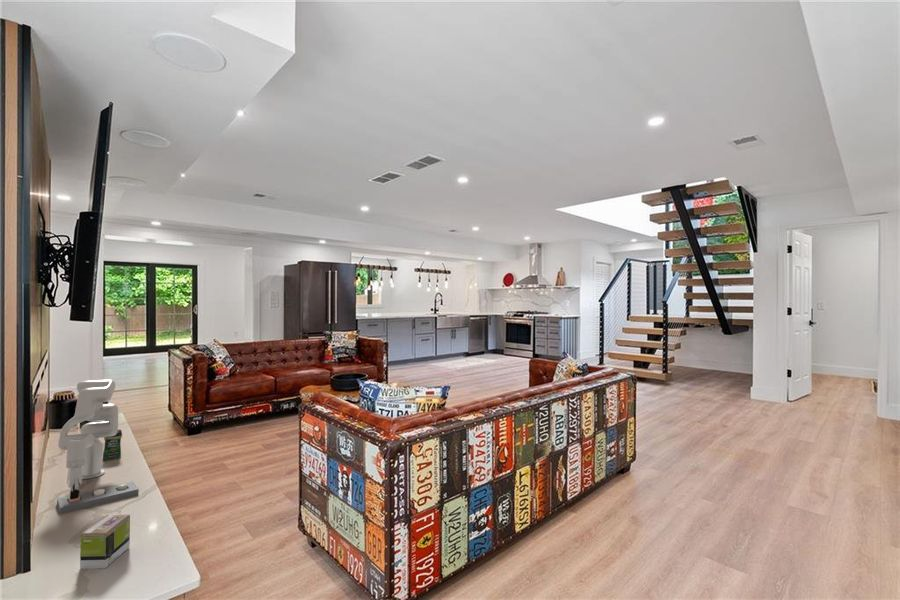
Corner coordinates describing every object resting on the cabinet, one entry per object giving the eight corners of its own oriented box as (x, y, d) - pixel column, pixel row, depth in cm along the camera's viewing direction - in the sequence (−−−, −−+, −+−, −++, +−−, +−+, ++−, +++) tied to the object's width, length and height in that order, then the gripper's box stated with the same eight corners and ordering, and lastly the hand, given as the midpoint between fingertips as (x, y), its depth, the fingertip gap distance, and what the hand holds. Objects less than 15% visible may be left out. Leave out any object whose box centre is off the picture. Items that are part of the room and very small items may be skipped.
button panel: (56, 504, 221) (57, 498, 221) (132, 486, 244) (132, 481, 244) (59, 514, 211) (60, 507, 211) (138, 494, 235) (138, 489, 235)
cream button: (92, 496, 228) (93, 490, 228) (103, 493, 231) (103, 488, 231) (94, 499, 225) (94, 493, 225) (104, 496, 228) (105, 490, 228)
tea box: (105, 548, 185) (107, 513, 185) (130, 547, 186) (131, 513, 186) (78, 569, 170) (80, 532, 170) (105, 569, 171) (106, 532, 171)
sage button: (116, 490, 235) (116, 485, 235) (126, 488, 238) (126, 482, 238) (118, 493, 232) (118, 487, 232) (128, 490, 235) (128, 485, 235)
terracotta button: (67, 503, 220) (68, 497, 220) (79, 501, 224) (79, 495, 224) (69, 506, 217) (69, 500, 217) (80, 504, 221) (80, 498, 221)
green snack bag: (102, 461, 278) (103, 432, 278) (103, 457, 285) (104, 429, 285) (120, 458, 284) (122, 430, 284) (121, 455, 290) (122, 427, 290)
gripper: (64, 460, 223) (62, 495, 223) (68, 468, 213) (66, 505, 212) (83, 457, 228) (81, 491, 228) (87, 464, 218) (86, 500, 218)
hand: (74, 498), depth 220 cm, fingers closed
